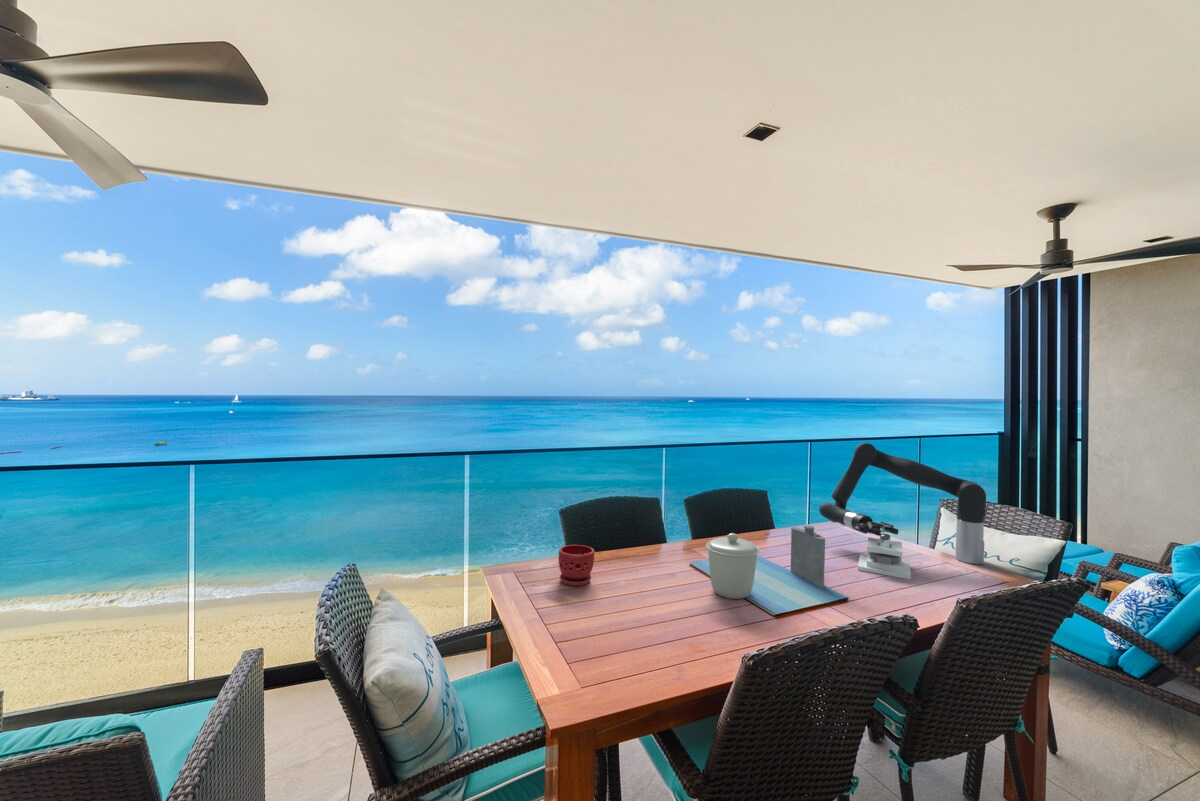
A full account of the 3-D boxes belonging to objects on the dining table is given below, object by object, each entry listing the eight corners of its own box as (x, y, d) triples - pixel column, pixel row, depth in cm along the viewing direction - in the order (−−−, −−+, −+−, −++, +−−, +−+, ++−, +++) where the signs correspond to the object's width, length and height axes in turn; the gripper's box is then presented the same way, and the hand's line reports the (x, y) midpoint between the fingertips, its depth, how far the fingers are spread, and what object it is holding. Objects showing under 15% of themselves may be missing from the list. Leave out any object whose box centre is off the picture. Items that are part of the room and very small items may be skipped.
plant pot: (589, 589, 174) (590, 556, 174) (554, 586, 177) (554, 553, 176) (597, 576, 187) (597, 544, 187) (563, 573, 189) (564, 542, 189)
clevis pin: (889, 563, 199) (890, 534, 198) (889, 566, 196) (890, 537, 195) (878, 561, 201) (879, 533, 200) (879, 565, 198) (880, 536, 197)
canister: (721, 607, 162) (722, 543, 161) (696, 585, 179) (697, 528, 178) (769, 601, 166) (770, 539, 166) (740, 580, 184) (741, 524, 183)
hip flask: (788, 571, 194) (789, 521, 193) (796, 570, 195) (798, 520, 195) (819, 587, 179) (820, 532, 178) (827, 585, 180) (829, 531, 180)
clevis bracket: (909, 566, 201) (910, 543, 201) (911, 580, 186) (911, 555, 186) (859, 558, 210) (860, 536, 210) (857, 570, 195) (858, 547, 195)
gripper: (844, 514, 210) (874, 524, 194) (872, 512, 214) (903, 522, 198) (843, 531, 210) (873, 543, 195) (871, 529, 214) (903, 540, 198)
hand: (888, 532), depth 196 cm, fingers open, 8 cm apart
